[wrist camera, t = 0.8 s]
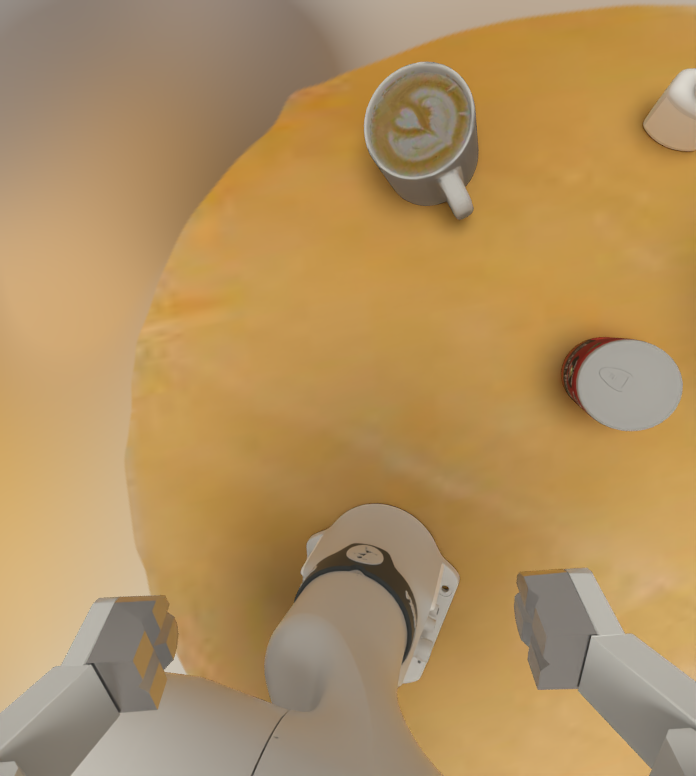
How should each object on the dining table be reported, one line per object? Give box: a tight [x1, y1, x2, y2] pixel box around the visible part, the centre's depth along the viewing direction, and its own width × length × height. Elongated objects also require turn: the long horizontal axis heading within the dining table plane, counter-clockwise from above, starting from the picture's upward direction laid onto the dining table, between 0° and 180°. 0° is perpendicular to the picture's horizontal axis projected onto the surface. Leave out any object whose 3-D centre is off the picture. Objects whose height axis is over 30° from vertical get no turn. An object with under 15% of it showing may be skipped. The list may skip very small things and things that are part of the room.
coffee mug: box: [364, 62, 478, 220], centre depth 49 cm, size 13×10×10 cm
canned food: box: [562, 337, 683, 431], centre depth 46 cm, size 8×8×11 cm
